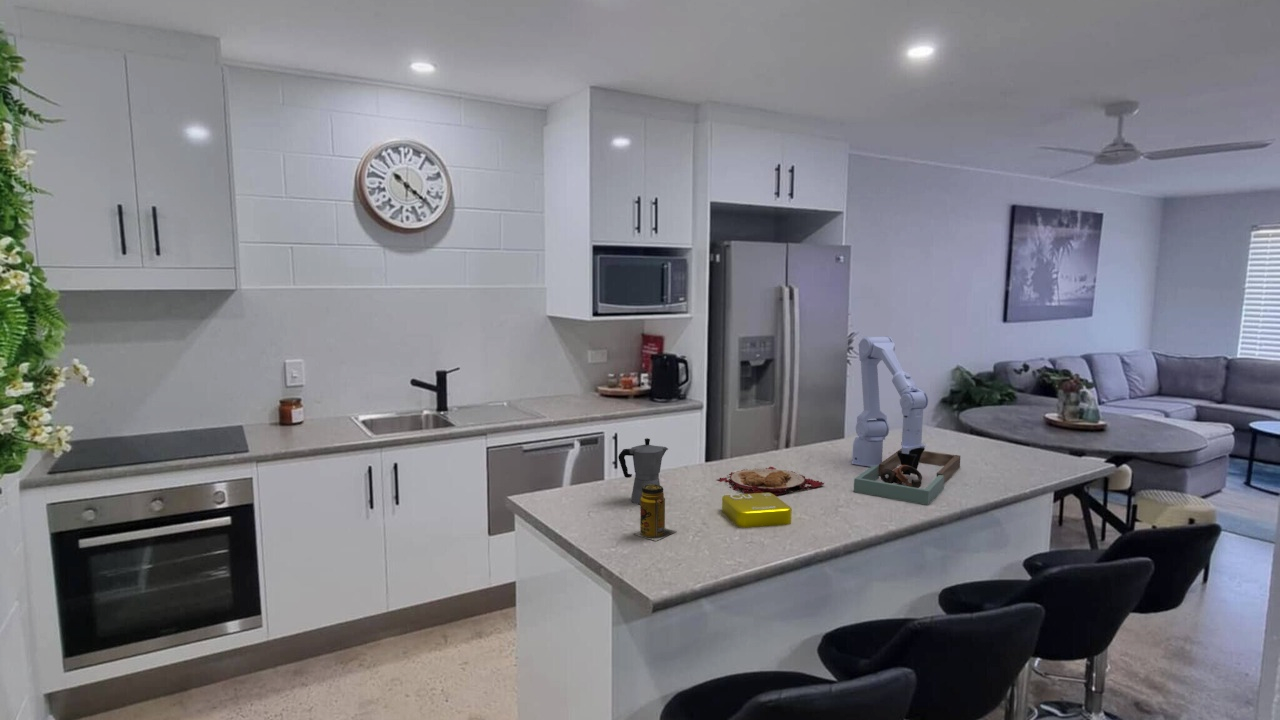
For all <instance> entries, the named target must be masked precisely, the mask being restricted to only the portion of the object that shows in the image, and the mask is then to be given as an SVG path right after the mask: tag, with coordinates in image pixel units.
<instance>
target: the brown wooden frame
mask: <svg viewBox="0 0 1280 720" xmlns="http://www.w3.org/2000/svg"><path fill="white" fill-rule="evenodd" d="M898 451H902V447H901V448H900V449H899V450H897V451H896V452H894V453H893V454H891V455H890V456H888V458H886V459H884V460H882V462H881V463H880V464H879V476H878V477H880V472H881V471H882V470H883V469H889V470H894V469H896V468H898V467H899V465H900V466H901V461H900V459H899V457H898V455H897V452H898ZM919 463H922V464H928V465H933V466H934V465H935V466H941V467H942V468H940V470H938V471H937V472H936V477H937V476H938V475H942V476H944V484H945V483H946V482H948V481H949V479H950V478H951V477H952V476H953V475H954V474H955V473H956V472H957V471H958V470H959V469H960V467H961V466H960V465H961V455H958V454H950V453H943V452H937V451H936V452H935V451H930V450H929V451H928V450H924V451H923V453H922V455H921V457H920V461H919Z"/></svg>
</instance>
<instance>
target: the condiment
mask: <svg viewBox="0 0 1280 720" xmlns="http://www.w3.org/2000/svg"><path fill="white" fill-rule="evenodd" d="M664 496H665V495H664V487H663V486H662V485H661V484H660V485H645V486H643V487H642V497H641V502H640V505H639V506H640V509H639V510H640V517H639V519H640V525H639V526H640V527H639V529H640V531H637V532H634V535H635V536H638V537H641V538H644V539H648V540H652V541H654V542H657V541H660V540H662V539H664V538H666V537H668V536H669V535H672V534H674V533H676V532H677V530H673V529H670V528H666V523H665V522H666V498H665V497H664Z"/></svg>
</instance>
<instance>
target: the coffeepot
mask: <svg viewBox="0 0 1280 720" xmlns="http://www.w3.org/2000/svg"><path fill="white" fill-rule="evenodd" d="M650 443H651V438H647V437H646V438H644V444H640V445H637V446H633V447H631V448H624V449H622V451H621V452H620V453H619V455H618V457H617V458H618V462H619V464H620V466H621V469H622V473H623V475H624V478H627V479H628V478H632V476H633V473H628V467H627V464H626V463H627V462H626V459H625V457H626V456H631V457H632V460H633V469H634V474H635V476H634V480H633V487H632V492H631V497H630V498H631V503H633V504H636V505H639V506H641V505H640V502H641V497H642V487H643V486H645V485H660V486H661V483H660V476H659V474H660V473H661V467H662V461H663V457H664V455H665V453H666V452H667V451H668V450H669V448H668V447H666V446H662V445H653V444H650Z"/></svg>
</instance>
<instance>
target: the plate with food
mask: <svg viewBox="0 0 1280 720" xmlns="http://www.w3.org/2000/svg"><path fill="white" fill-rule="evenodd" d="M728 478H730V479H728ZM716 481H717V482H724V483H728V484H729V485H732V487H731V486H729V485H728V484H727V485H726V486H727V487H729V488H731V489H732V490H736V491H742V492H743V494H752V493H772V494H774V495H775V496H776V497H778V495H782V494H787V493H788V492H789V493H793V491H791V490H788V489H790V488H795V487H799V490H797V492H802V491H809V490H810V489H811V488H817V487H822V486H824V484H825V482H823V481H819V480H814V479H813V478H811V479H810V478H806V476H805V475H803V474H800V473H796V471H792V470H786V469H777V468H775V467H774V466H769V467H768V468H767V467H765V468H753V469H752V468H751V469H748V468H746V469H741V470H737V471H736V472H730V473H729V474H728V475H726V477H723V478H722V477H721V478H719V479H716ZM749 490H750V491H749ZM751 490H752V491H751Z"/></svg>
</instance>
